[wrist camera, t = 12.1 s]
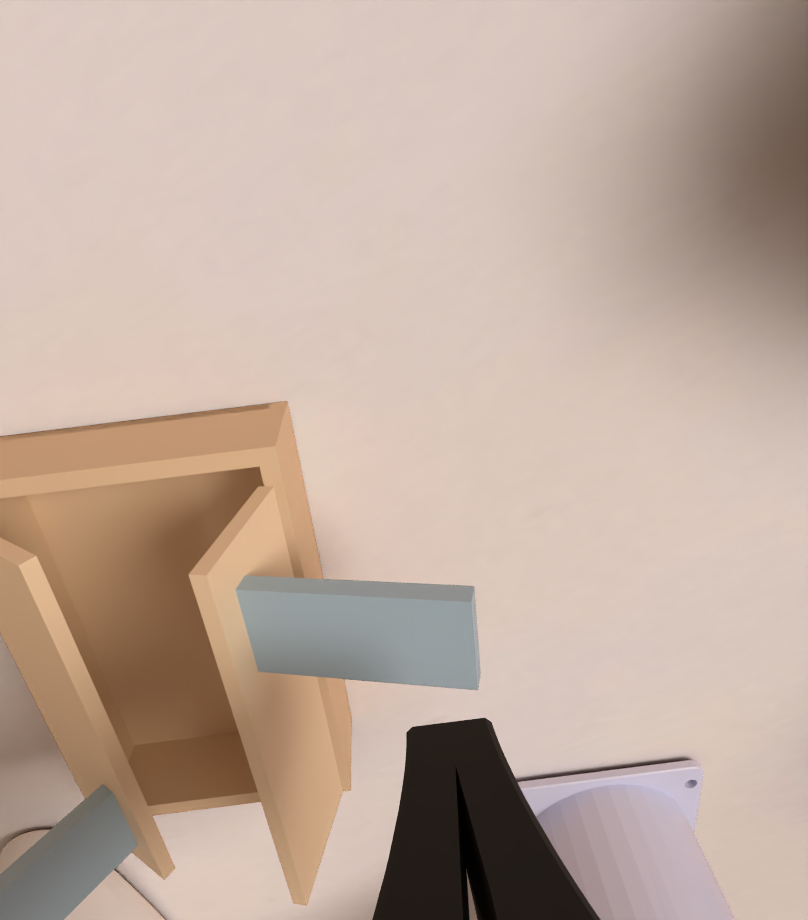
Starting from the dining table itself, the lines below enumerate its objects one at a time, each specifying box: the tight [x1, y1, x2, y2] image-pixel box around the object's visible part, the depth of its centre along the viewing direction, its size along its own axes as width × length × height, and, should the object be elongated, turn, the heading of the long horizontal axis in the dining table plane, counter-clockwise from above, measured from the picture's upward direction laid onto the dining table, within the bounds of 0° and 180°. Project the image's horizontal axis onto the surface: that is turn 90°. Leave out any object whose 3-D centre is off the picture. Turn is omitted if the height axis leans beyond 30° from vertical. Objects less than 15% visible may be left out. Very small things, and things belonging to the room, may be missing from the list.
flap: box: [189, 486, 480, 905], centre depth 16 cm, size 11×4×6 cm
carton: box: [0, 401, 352, 816], centre depth 20 cm, size 13×8×3 cm, turn 6°
